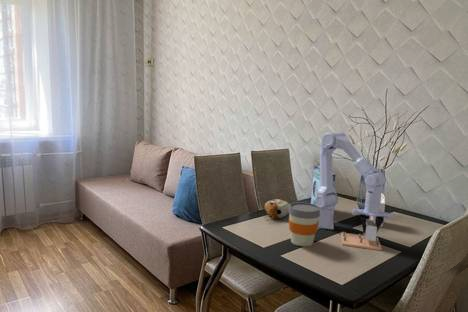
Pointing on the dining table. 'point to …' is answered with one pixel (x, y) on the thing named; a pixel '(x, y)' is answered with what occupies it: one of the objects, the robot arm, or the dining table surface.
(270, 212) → the nautilus
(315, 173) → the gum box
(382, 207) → the ink cartridge box
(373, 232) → the drive
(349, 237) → the wooden peg board
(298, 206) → the reusable coffee cup
